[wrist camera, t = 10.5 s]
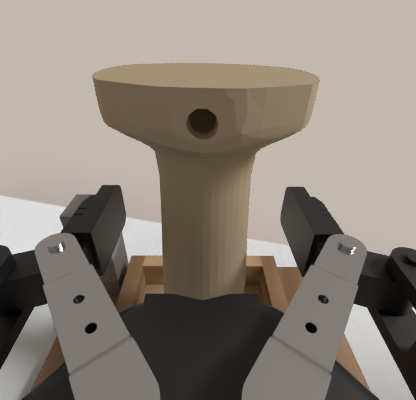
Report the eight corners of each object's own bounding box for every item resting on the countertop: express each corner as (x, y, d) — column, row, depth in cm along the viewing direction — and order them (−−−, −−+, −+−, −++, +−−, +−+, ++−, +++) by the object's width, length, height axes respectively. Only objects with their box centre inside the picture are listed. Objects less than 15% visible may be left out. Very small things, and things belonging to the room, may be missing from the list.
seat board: (310, 275, 22) (338, 193, 18) (401, 484, 12) (517, 414, 8) (93, 275, 22) (66, 192, 17) (-4, 489, 12) (-128, 419, 7)
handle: (261, 390, 14) (347, 90, 6) (141, 385, 14) (59, 84, 6) (252, 309, 18) (294, 65, 10) (158, 306, 18) (123, 62, 10)
